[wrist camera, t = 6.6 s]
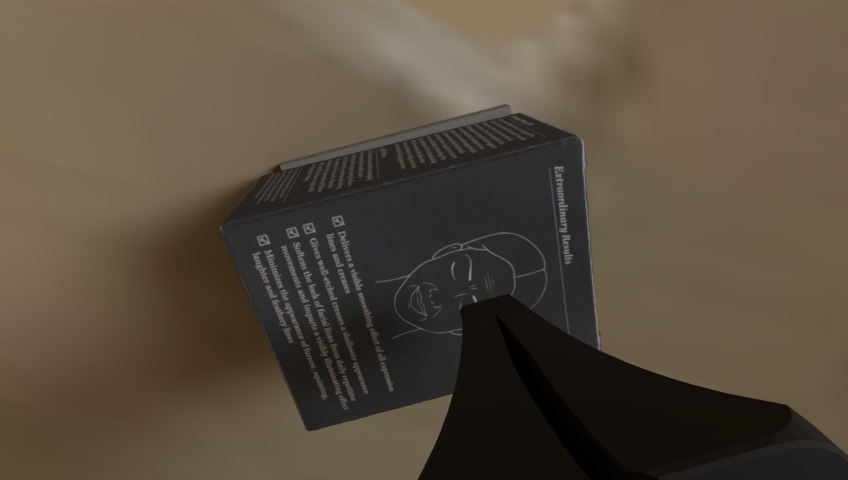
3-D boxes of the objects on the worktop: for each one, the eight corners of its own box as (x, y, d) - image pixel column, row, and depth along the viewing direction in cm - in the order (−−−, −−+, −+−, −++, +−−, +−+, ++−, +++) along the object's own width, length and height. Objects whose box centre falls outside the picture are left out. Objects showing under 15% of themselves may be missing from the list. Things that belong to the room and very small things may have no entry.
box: (318, 339, 21) (548, 283, 21) (301, 437, 16) (607, 362, 16) (256, 171, 18) (527, 107, 18) (209, 224, 12) (591, 133, 13)
